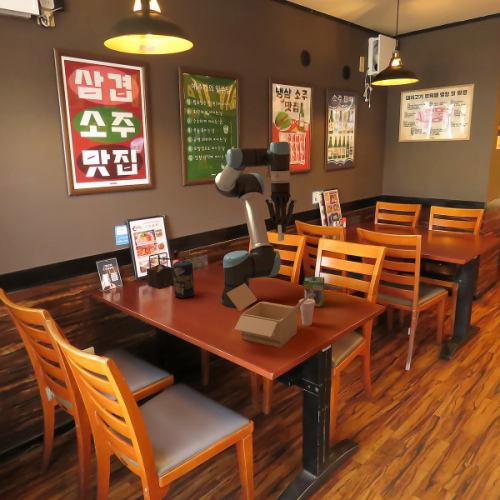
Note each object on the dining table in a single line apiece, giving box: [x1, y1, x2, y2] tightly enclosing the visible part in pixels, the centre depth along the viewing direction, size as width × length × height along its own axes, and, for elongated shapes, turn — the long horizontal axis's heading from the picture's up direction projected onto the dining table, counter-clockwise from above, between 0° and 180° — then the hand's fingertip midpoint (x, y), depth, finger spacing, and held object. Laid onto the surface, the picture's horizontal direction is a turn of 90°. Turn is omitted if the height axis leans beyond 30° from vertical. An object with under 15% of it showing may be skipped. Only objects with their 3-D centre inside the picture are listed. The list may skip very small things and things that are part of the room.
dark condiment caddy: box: [146, 250, 180, 290], centre depth 227 cm, size 16×11×18 cm
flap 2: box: [234, 314, 277, 337], centre depth 149 cm, size 15×6×1 cm
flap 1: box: [226, 283, 258, 312], centre depth 163 cm, size 8×13×1 cm
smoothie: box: [298, 290, 315, 326], centre depth 169 cm, size 6×6×14 cm
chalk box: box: [303, 270, 326, 308], centre depth 191 cm, size 9×9×15 cm
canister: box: [172, 260, 195, 299], centre depth 206 cm, size 10×10×18 cm
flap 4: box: [283, 293, 312, 319], centre depth 151 cm, size 8×13×1 cm
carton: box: [240, 301, 298, 349], centre depth 159 cm, size 16×14×10 cm
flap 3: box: [261, 301, 301, 313], centre depth 167 cm, size 15×6×1 cm
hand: (281, 240), depth 173 cm, fingers closed
